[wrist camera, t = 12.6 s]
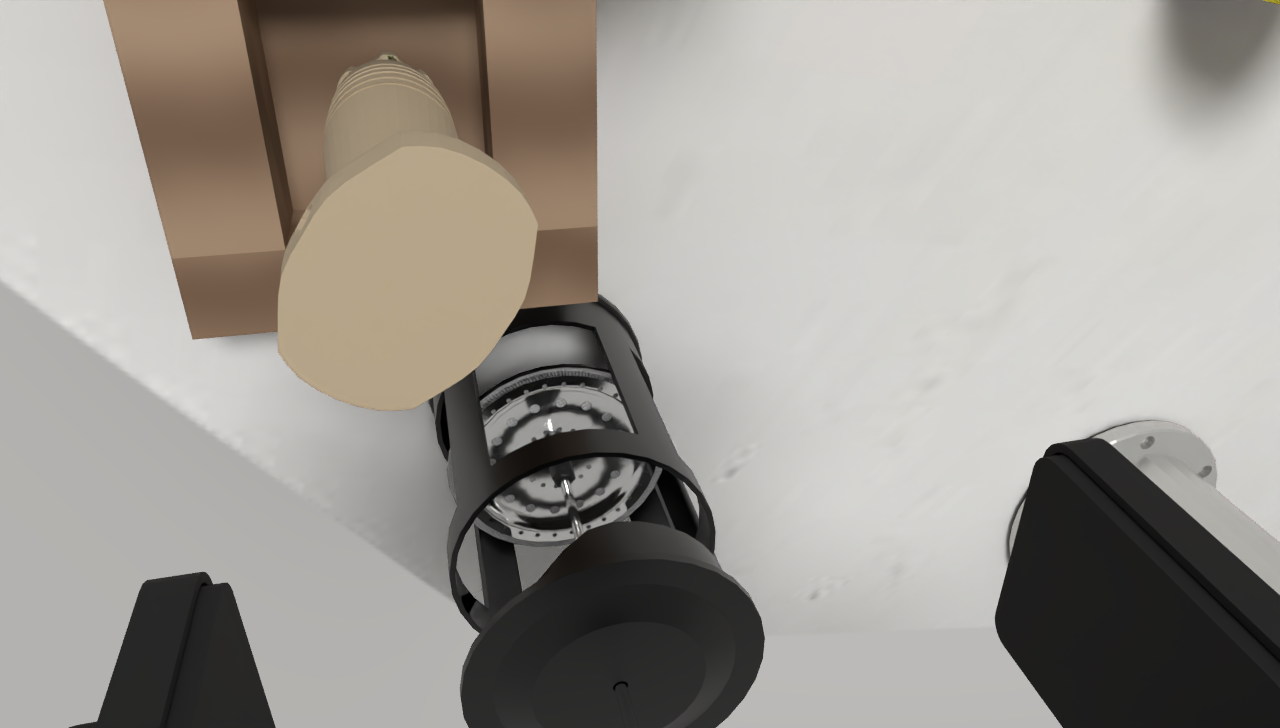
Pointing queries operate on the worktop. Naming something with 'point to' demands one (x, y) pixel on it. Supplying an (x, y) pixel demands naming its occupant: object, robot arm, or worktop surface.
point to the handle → (401, 248)
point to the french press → (589, 549)
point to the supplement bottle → (1273, 1)
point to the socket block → (296, 116)
